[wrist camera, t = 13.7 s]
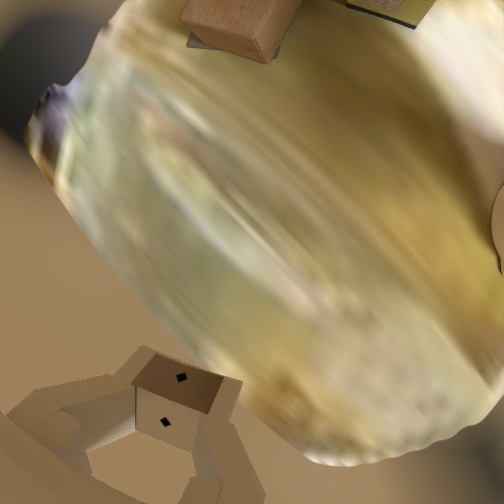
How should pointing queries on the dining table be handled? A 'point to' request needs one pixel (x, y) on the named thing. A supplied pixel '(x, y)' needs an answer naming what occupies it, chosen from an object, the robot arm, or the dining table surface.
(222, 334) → the dining table surface
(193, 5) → the wooden block
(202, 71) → the dining table surface
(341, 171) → the dining table surface
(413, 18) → the protein box
